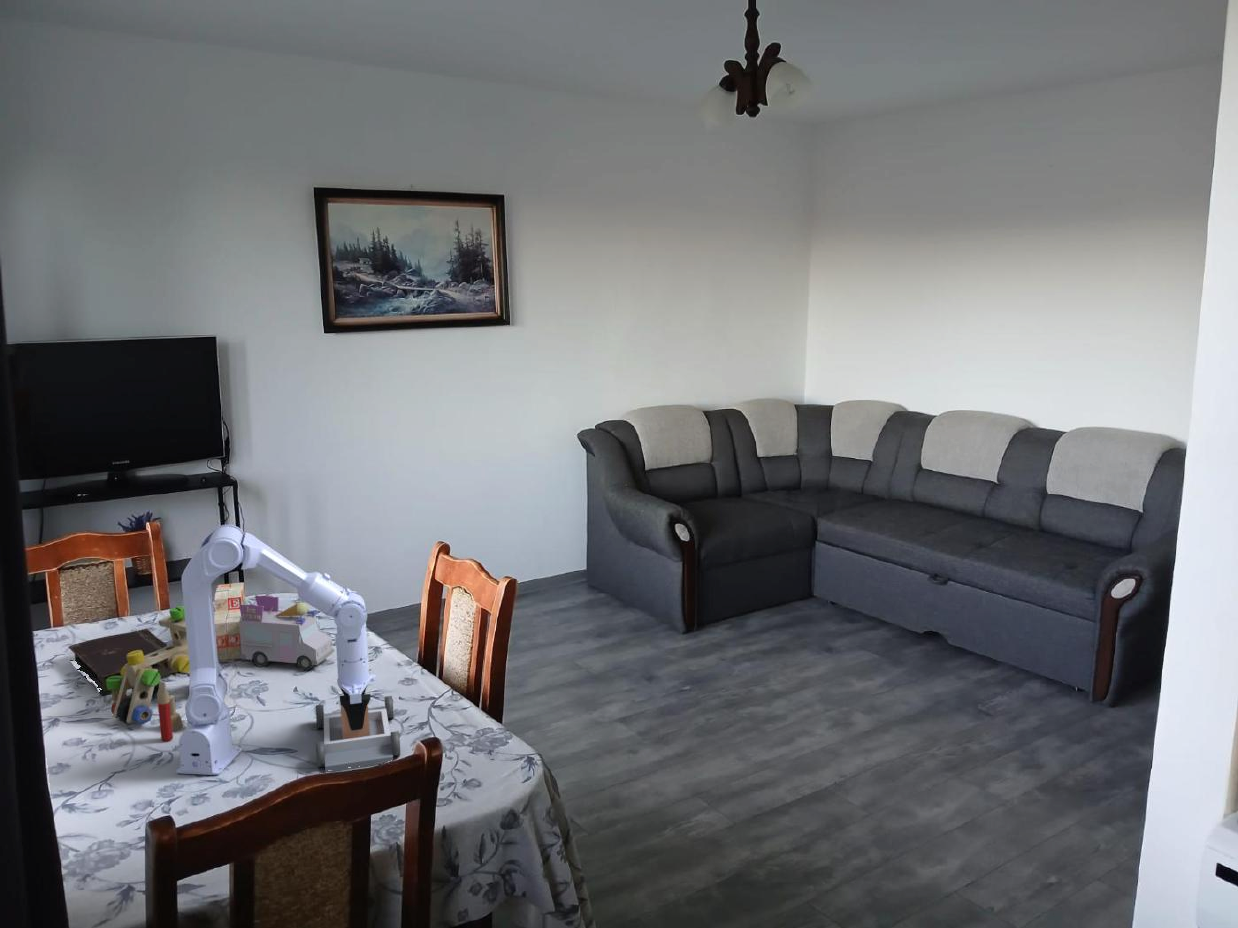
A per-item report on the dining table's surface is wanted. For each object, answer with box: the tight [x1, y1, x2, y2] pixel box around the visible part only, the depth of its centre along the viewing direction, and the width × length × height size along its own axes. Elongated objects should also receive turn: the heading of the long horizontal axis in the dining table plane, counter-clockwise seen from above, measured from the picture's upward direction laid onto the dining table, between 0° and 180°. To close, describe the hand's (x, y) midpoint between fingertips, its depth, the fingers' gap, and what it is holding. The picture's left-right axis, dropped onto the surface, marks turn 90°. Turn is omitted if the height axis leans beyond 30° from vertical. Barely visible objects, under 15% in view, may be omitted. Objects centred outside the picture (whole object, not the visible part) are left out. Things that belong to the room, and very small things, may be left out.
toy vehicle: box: [239, 594, 335, 672], centre depth 217 cm, size 9×20×15 cm, turn 78°
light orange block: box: [339, 702, 370, 739], centre depth 181 cm, size 5×5×6 cm
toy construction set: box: [106, 605, 190, 743], centre depth 191 cm, size 27×22×21 cm
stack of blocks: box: [213, 582, 247, 661], centre depth 229 cm, size 21×6×12 cm, turn 18°
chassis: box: [315, 695, 401, 773], centre depth 182 cm, size 22×15×4 cm
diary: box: [68, 628, 186, 697], centre depth 215 cm, size 19×25×5 cm
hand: (356, 722), depth 181 cm, fingers closed on light orange block, 5 cm apart
